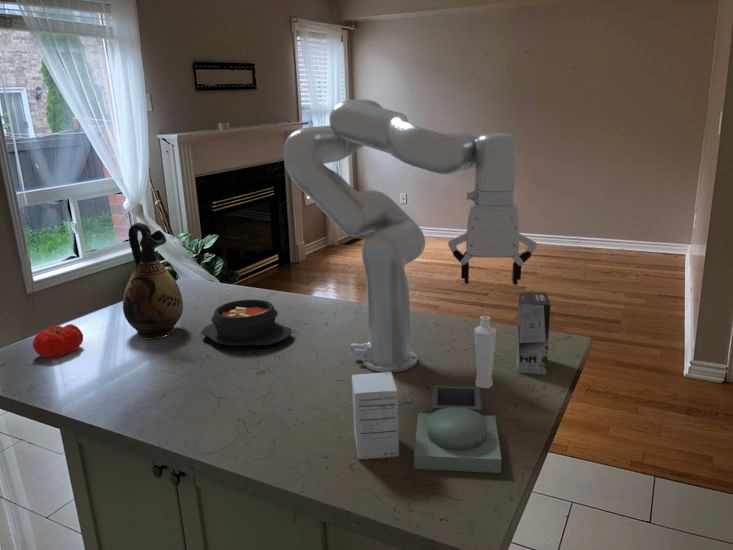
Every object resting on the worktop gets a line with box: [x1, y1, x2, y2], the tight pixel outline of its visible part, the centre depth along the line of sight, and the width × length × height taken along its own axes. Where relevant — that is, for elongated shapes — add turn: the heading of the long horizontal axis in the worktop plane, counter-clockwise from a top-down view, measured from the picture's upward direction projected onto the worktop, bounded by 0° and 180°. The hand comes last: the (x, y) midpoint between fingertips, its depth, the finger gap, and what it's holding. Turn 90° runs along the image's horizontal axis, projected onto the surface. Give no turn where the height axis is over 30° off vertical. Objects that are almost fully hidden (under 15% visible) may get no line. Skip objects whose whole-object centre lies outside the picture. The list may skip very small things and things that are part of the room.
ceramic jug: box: [122, 222, 184, 339], centre depth 160 cm, size 17×15×30 cm
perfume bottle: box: [473, 315, 497, 389], centre depth 125 cm, size 5×4×15 cm
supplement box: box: [351, 372, 400, 460], centre depth 103 cm, size 7×7×13 cm
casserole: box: [200, 299, 293, 347], centre depth 156 cm, size 25×19×8 cm
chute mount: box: [413, 384, 502, 474], centre depth 107 cm, size 14×22×5 cm, turn 172°
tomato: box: [32, 323, 84, 359], centre depth 151 cm, size 10×11×6 cm
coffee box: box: [515, 291, 552, 375], centre depth 133 cm, size 9×6×16 cm
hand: (490, 282), depth 121 cm, fingers open, 9 cm apart
